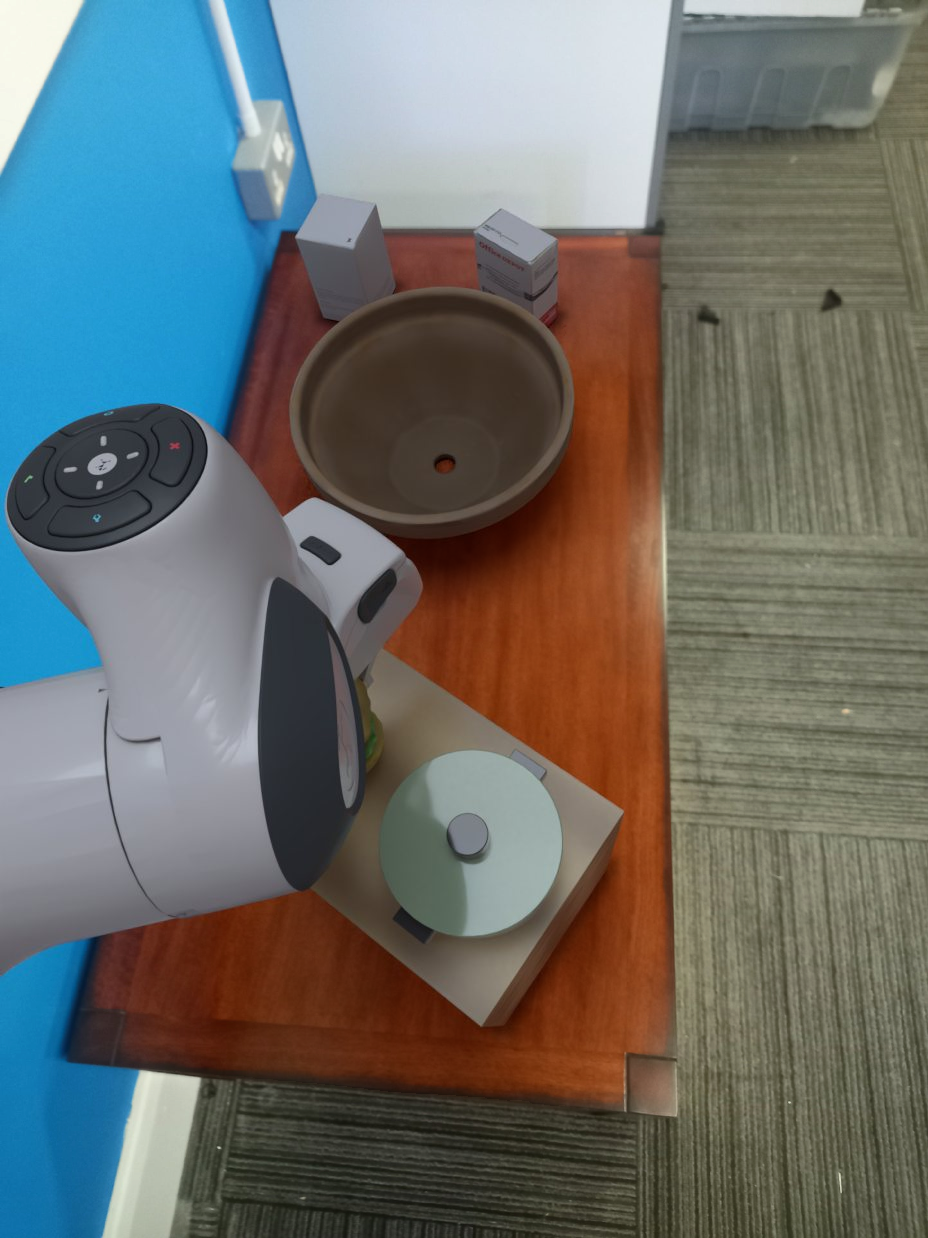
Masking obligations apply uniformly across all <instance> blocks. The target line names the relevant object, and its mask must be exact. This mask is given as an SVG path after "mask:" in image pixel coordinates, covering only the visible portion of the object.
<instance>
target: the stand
mask: <svg viewBox="0 0 928 1238" xmlns="http://www.w3.org/2000/svg"><path fill="white" fill-rule="evenodd" d="M370 674H371V676H372V678H373V679H374V682H373V683H372V685H371V686H370V687H369V688H368V689H367V693H368V697H369V698H370V701H371V707H370V708H371V711H372V712H374V713H375V714H376V715H377V718H378V719H379V720H380V721H381V723H382V726H383V733H384V741H383V742H384V746H383V750H382V753H381V755H380V757H379V759H378V761H377V763H376V764H375V765H374V766H373V768H372V769H371V770H370V771H369V772H368V773H366V785H365V792H364V798H363V802H362V805H361V807H360V810H359V812H358V814H357V816H356V818H355V821H354V823H353V825H352V827H351V829H350V831H349V833H348V835H347V837H346V839H345V841H344V843H343V845H342V847H341V848H340V850H339V852H338V854H337V855H336V857H335V858H334V860H333V862H332V863H331V864H330V866H329V867H328V868H327V870H326V871H325V872H324V873H323V875H322V876H321V877H320V878H319V879H318V880H317V881H316V882H315V883H314V884H313V885H312V886H311V887H310V888H309V889H310V890H312V891H313V892H314V893H315V894H316V895H318V896H319V897H320V898H321V899H322V900H324V901H325V902H326V903H328V904H329V905H330V906H331V907H333V908H334V910H336V911H338V912H339V913H340V914H341V915H342V916H344V917H345V918H346V919H347V920H349V922H351V923H352V924H353V925H354V926H356V927H357V928H358V929H360V930H361V932H363V933H365V934H366V935H367V936H368V937H369V938H370V939H372V940H373V941H374V942H375V943H377V944H378V945H379V946H380V947H382V948H383V949H384V950H386V952H388V953H389V954H390V955H391V956H393V957H394V958H395V959H396V960H398V961H399V962H400V963H401V964H402V965H404V966H405V967H406V968H408V970H410V971H411V972H413V973H414V974H415V975H416V976H417V977H418V978H420V979H421V980H422V981H423V982H424V983H426V984H427V985H428V986H430V987H431V988H432V989H433V990H435V991H436V992H437V993H438V994H440V995H441V996H442V997H443V998H444V999H446V1000H447V1001H448V1002H449V1003H451V1004H452V1006H454V1007H455V1008H457V1009H458V1010H459V1011H460V1012H461V1013H463V1014H464V1015H465V1016H467V1017H468V1018H469V1019H470V1020H471V1021H473V1022H474V1023H475V1024H476V1025H478V1026H479V1027H480V1028H485V1027H488V1028H489V1027H504V1026H505V1025H506V1024H507V1022H508V1021H509V1019H510V1017H511V1016H512V1015H513V1013H514V1011H515V1010H516V1008H517V1007H518V1005H519V1004H520V1002H521V1001H522V999H523V998H524V996H525V995H526V993H527V992H528V991H529V989H530V988H531V985H532V984H533V983H534V981H535V980H536V978H537V977H538V975H539V973H540V972H541V970H542V969H543V968H544V966H545V964H546V963H547V961H548V960H549V959H550V957H551V955H552V954H553V952H554V951H555V949H556V947H557V946H558V944H559V943H560V941H561V940H562V939H563V937H564V936H565V934H566V932H567V931H568V929H569V928H570V926H571V925H572V923H573V922H574V920H575V919H576V917H577V915H578V914H579V913H580V911H581V909H582V908H583V906H584V905H585V904H586V902H587V900H588V899H589V898H590V896H591V894H592V893H593V891H594V890H595V888H596V887H597V885H598V883H599V882H600V881H601V879H602V877H603V876H604V874H605V873H606V872H607V870H608V868H609V864H610V861H611V857H612V854H613V852H614V851H613V850H614V847H615V844H616V840H617V838H618V834H619V831H620V828H621V824H622V821H623V818H624V815H625V812H626V811H625V810H624V809H622V808H621V807H619V806H618V805H616V804H615V803H614V802H612V801H611V800H609V799H608V798H606V797H605V796H603V795H602V794H600V793H599V792H597V791H596V790H594V789H593V788H591V786H590V787H589V786H588V785H587V784H585V783H584V782H583V781H581V780H580V779H578V778H577V777H576V776H573V775H571V774H570V773H569V772H567V771H566V770H565V769H563V768H561V767H560V766H559V765H558V764H556V763H554V762H553V761H551V760H549V759H548V758H546V757H545V756H543V754H541V753H540V752H538V751H537V750H535V749H534V748H532V747H530V746H529V745H528V744H526V743H524V742H523V741H522V740H520V739H518V738H517V737H516V736H514V735H512V734H511V733H510V732H508V731H507V730H505V729H504V728H503V727H500V726H499V725H498V724H496V723H495V722H493V720H490V719H489V718H488V717H486V716H485V715H483V714H481V713H480V712H478V711H477V710H476V709H474V708H473V707H471V706H469V705H468V704H467V703H465V702H464V701H462V700H461V699H460V698H459V697H456V696H455V695H453V694H452V693H450V692H449V691H447V690H446V689H444V688H443V687H442V686H440V685H438V684H437V683H435V682H434V681H432V680H431V679H430V678H428V677H426V676H425V675H424V674H422V673H420V672H419V671H418V670H416V669H415V668H413V667H412V666H410V665H409V664H407V663H406V662H404V661H403V660H401V659H400V658H399V657H397V656H396V655H394V654H392V653H391V652H390V651H388V650H387V649H385V648H384V647H382V648H381V649H380V651H379V652H378V653H377V655H376V658H375V661H374V665H373V668H372V671H371V673H370ZM515 749H517V750H518V751H520V752H521V753H522V754H524V755H525V756H527V757H528V758H530V759H531V760H533V761H534V762H536V763H537V764H539V765H540V766H542V767H543V768H545V769H546V770H547V776H546V777H545V779H544V780H543V781H542V783H543V785H544V786H545V787H546V789H547V790H548V792H549V794H550V795H551V797H552V799H553V801H554V803H555V805H556V808H557V810H558V813H559V817H560V821H561V825H562V833H563V853H562V860H561V865H560V869H559V872H558V875H557V878H556V880H555V883H554V885H553V887H552V889H551V890H550V893H549V895H548V897H547V899H546V901H545V902H544V904H543V906H542V907H541V908H540V909H539V911H538V912H537V913H536V914H535V915H534V916H533V917H532V918H531V919H530V920H529V921H528V922H527V923H525V924H524V925H523V926H521V927H520V928H518V929H516V930H515V931H513V932H511V933H508V934H506V935H503V936H500V937H496V938H492V939H482V940H479V939H467V938H460V937H455V936H449V935H446V934H443V933H440V932H436V933H435V935H434V936H433V938H432V939H431V941H430V942H429V943H428V945H427V946H426V945H424V944H423V943H421V942H420V941H419V940H418V939H416V938H415V937H414V936H413V935H411V934H410V933H409V932H408V931H406V930H405V929H404V928H403V927H401V926H400V925H399V924H398V923H396V922H395V921H394V920H393V919H392V918H393V917H394V915H395V914H396V913H397V911H398V910H399V909H400V907H401V905H400V904H399V903H398V901H397V900H396V899H395V897H394V895H393V894H392V892H391V891H390V889H389V887H388V884H387V882H386V880H385V877H384V874H383V871H382V868H381V863H380V857H379V833H380V827H381V822H382V818H383V815H384V812H385V810H386V807H387V805H388V803H389V801H390V799H391V797H392V795H393V794H394V792H395V791H396V789H397V788H398V786H399V785H400V784H401V783H402V782H403V781H404V779H405V778H406V777H407V776H408V775H410V774H411V773H412V772H413V771H414V770H415V769H417V768H418V767H419V766H421V765H422V764H424V763H426V762H427V761H429V760H431V759H433V758H435V757H438V756H440V755H443V754H446V753H450V752H454V751H460V750H484V751H491V752H494V753H498V754H501V755H504V756H506V757H510V755H511V754H512V752H513V751H514V750H515Z"/></svg>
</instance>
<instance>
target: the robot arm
mask: <svg viewBox="0 0 928 1238" xmlns="http://www.w3.org/2000/svg"><path fill="white" fill-rule="evenodd" d="M4 516H5V522H6V524H7V528H8V530H9V532H10V534H11V536H12V538H13V540H14V542H15V544H16V546H17V547H18V549H19V550H20V552H21V554H22V555H23V557H24V558H25V559H26V561H27V562H28V563H29V565H30V566H31V567H32V569H33V570H34V572H35V573H36V574H37V575H38V577H39V578H40V579H41V580H42V582H43V583H44V584H45V586H46V587H47V588H48V589H49V590H50V591H51V592H52V594H53V595H54V596H55V597H56V598H57V599H58V601H59V602H61V603H62V605H63V606H64V607H65V608H66V609H67V610H68V611H69V613H71V614H72V616H74V617H75V618H76V619H77V620H78V621H79V623H80V624H81V625H83V626H84V627H85V629H87V631H88V632H89V634H90V636H91V639H92V640H93V643H94V645H95V648H96V650H97V653H98V656H99V659H100V662H101V665H98V666H93V667H88V668H84V669H80V670H79V669H78V670H76V671H75V670H74V671H71V672H67V673H61V674H57V675H53V676H48V677H45V678H40V679H36V680H31V681H27V682H22V683H17V684H13V685H9V686H0V978H1V977H3V976H5V974H6V973H8V972H9V971H10V970H12V969H14V968H15V967H17V966H18V965H20V964H22V963H24V962H25V961H27V960H29V959H30V958H32V957H34V956H36V955H37V954H40V953H41V952H44V951H47V950H49V949H52V948H55V947H58V946H62V945H65V944H70V943H74V942H78V941H83V940H87V939H92V938H96V937H100V936H105V935H109V934H114V933H118V932H119V933H120V932H122V931H128V930H131V929H136V928H140V927H144V926H149V925H155V924H158V923H162V922H167V921H171V920H176V919H180V920H185V919H189V918H193V917H199V916H203V915H206V914H207V915H208V914H212V913H216V912H220V911H224V910H228V909H233V908H238V907H242V906H247V905H250V904H254V903H259V902H262V901H268V900H271V899H275V898H279V897H283V896H286V895H290V894H293V893H297V892H306V891H309V890H310V889H311V888H310V887H311V886H312V885H313V884H314V883H315V882H316V881H317V880H318V879H319V878H320V877H321V876H322V875H323V873H324V872H325V871H326V870H327V868H328V867H329V866H330V864H331V863H332V862H333V860H334V858H335V857H336V855H337V854H338V852H339V850H340V848H341V847H342V845H343V843H344V841H345V839H346V837H347V835H348V833H349V831H350V829H351V827H352V825H353V823H354V821H355V818H356V816H357V814H358V812H359V810H360V807H361V805H362V802H363V798H364V792H365V785H366V752H365V739H364V730H363V723H362V716H361V711H360V705H359V701H358V696H357V692H356V688H355V684H354V681H355V680H356V679H357V678H358V677H359V679H360V680H361V681H362V682H363V683H364V685H365V686H366V689H368V688H369V687H370V686H371V685H372V683H373V682H374V679H373V678H372V676H371V674H370V673H371V671H372V668H373V665H374V661H375V658H376V655H377V653H378V652H379V651H380V649H381V648H384V645H386V643H387V642H388V641H389V640H390V638H392V636H393V635H394V634H395V632H397V630H398V628H399V627H400V626H401V625H402V624H403V622H404V621H405V620H406V619H407V618H408V617H409V615H410V614H411V613H412V612H413V610H414V609H415V608H416V606H417V605H418V603H419V601H420V598H421V596H422V593H423V590H424V583H423V580H422V577H421V574H420V572H419V570H418V568H417V567H416V565H415V563H414V562H413V561H412V560H411V559H409V558H408V557H407V556H406V553H405V552H404V550H402V549H401V548H400V547H399V546H397V544H395V543H394V542H393V541H391V539H389V538H388V537H386V536H385V534H383V533H381V532H378V531H377V530H375V529H374V528H372V527H371V526H369V525H368V524H366V523H365V522H363V521H362V520H360V519H358V518H356V517H355V516H353V515H351V514H349V513H348V512H346V511H344V510H342V509H340V508H338V507H336V506H334V505H332V504H330V503H328V502H327V501H326V500H324V499H320V498H318V497H311V498H308V499H306V500H305V501H303V502H302V503H300V504H299V505H297V506H296V507H294V508H293V509H292V510H290V511H289V512H287V513H286V514H285V515H284V516H283V515H282V514H281V512H280V510H279V509H278V507H277V505H276V504H275V502H274V501H273V499H272V498H271V496H270V495H269V493H268V492H267V490H266V489H265V487H264V485H263V484H262V482H261V481H260V480H259V479H258V477H257V475H256V474H255V473H254V471H253V470H252V468H251V467H250V466H249V465H248V464H247V463H246V461H245V460H244V459H243V457H242V456H241V455H240V453H238V451H237V450H236V449H235V448H234V447H233V446H232V445H231V443H229V442H228V440H227V439H226V438H225V437H224V436H223V435H222V434H221V433H219V431H218V430H217V429H216V428H214V427H213V426H212V425H211V424H210V423H209V422H207V421H206V420H204V419H203V418H201V417H200V416H198V415H196V414H194V413H193V412H191V411H189V410H186V409H185V408H181V407H178V406H175V405H172V404H167V403H159V402H150V403H149V402H148V403H141V404H140V403H139V404H138V403H137V404H132V405H125V406H120V407H115V408H112V409H108V410H103V411H100V412H97V413H93V414H89V415H86V416H84V417H81V418H79V419H77V420H74V421H72V422H70V423H68V424H66V425H64V426H62V427H61V428H60V429H58V430H56V431H55V432H53V433H52V434H50V435H49V436H48V437H45V439H44V440H42V441H41V442H40V443H39V444H38V445H37V446H35V448H34V449H32V451H31V452H29V454H28V455H27V456H26V457H25V459H23V460H22V462H21V464H20V465H19V466H18V467H17V469H16V471H15V473H14V474H13V476H12V478H11V480H10V482H9V484H8V487H7V490H6V493H5V500H4Z"/></svg>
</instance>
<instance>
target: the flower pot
mask: <svg viewBox="0 0 928 1238" xmlns="http://www.w3.org/2000/svg"><path fill="white" fill-rule="evenodd" d="M574 387H575V386H574V380H573V374H572V370H571V366H570V363H569V361H568V359H567V356H566V354H565V351H564V349H563V347H562V345H561V343H560V342H559V341H558V339H557V338H556V336H555V335H554V334H553V333H552V331H551V330H550V329H549V328H548V327H546V326H545V325H544V324H543V323H542V322H541V321H540V320H539V319H538V318H536V317H535V316H534V315H532V314H531V313H530V312H528V311H527V310H525V309H524V308H522V307H521V306H519V305H517V304H515V303H513V302H511V301H509V300H507V299H505V298H502V297H500V296H496V295H493V294H490V293H487V292H483V291H480V290H479V289H473V288H468V287H461V286H430V287H422V288H421V287H420V288H415V289H409V290H405V291H401V292H397V293H393V294H392V295H390V296H387V297H384V298H381V299H379V300H376V301H374V302H372V303H370V304H367V305H365V306H364V307H362V308H360V309H358V310H356V311H355V312H353V313H351V314H350V315H348V316H347V317H345V318H344V319H343V320H341V321H338V322H337V323H336V324H335V325H333V327H331V328H330V329H329V330H328V331H327V332H326V333H325V334H324V335H323V336H322V337H321V338H320V339H319V341H318V342H316V344H315V345H314V346H313V348H312V349H311V350H310V352H309V353H308V355H307V357H306V359H305V360H304V362H303V363H302V365H301V367H300V369H299V371H298V373H297V376H296V378H295V381H294V383H293V387H292V389H291V393H290V397H289V404H288V405H289V407H288V408H289V409H288V411H289V416H288V417H289V427H290V435H291V438H292V442H293V446H294V449H295V452H296V454H297V456H298V457H297V458H298V459H299V462H300V464H301V466H302V468H303V470H304V471H305V473H306V475H307V476H308V478H309V480H310V481H311V483H312V485H313V486H314V488H315V489H316V490H317V492H318V493H319V494H320V496H321V497H322V498H323V499H324V501H325V502H328V503H330V504H332V505H334V506H336V507H338V508H340V509H342V510H344V511H346V512H348V513H349V514H351V515H353V516H355V517H356V518H358V519H360V520H362V521H363V522H365V523H366V524H368V525H369V526H371V527H372V528H374V529H375V530H377V531H378V532H379V533H381V534H384V535H389V536H394V537H398V538H399V537H400V538H406V539H417V540H433V539H434V540H435V539H445V538H453V537H458V536H462V535H466V534H470V533H473V532H476V531H479V530H482V529H484V528H487V527H489V526H493V525H494V524H496V523H499V522H501V521H503V520H504V519H506V518H508V517H511V515H512V514H514V513H516V512H518V511H519V510H520V509H521V508H523V507H524V506H525V505H526V504H528V503H529V502H530V501H531V500H533V499H534V498H535V497H536V496H537V495H538V494H539V493H540V492H541V491H542V489H544V488H545V486H546V485H547V484H548V483H549V482H550V480H551V479H552V478H553V476H554V475H555V474H556V472H557V470H558V468H559V467H560V465H561V463H562V461H563V459H564V457H565V455H566V452H567V450H568V448H569V444H570V440H571V438H572V437H571V436H572V433H573V424H574V415H575V389H574ZM445 458H447V459H451V460H452V461H453V462H454V463H455V465H454V466H453V469H451V470H450V471H447V472H440V471H438V470H437V469H436V464H437V463H438V461H440V460H442V459H445Z"/></svg>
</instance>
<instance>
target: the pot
mask: <svg viewBox="0 0 928 1238" xmlns="http://www.w3.org/2000/svg"><path fill="white" fill-rule="evenodd" d="M546 776H547V770H546V769H545V768H543V767H542V766H540V765H539V764H537V763H536V762H534V761H533V760H531V759H530V758H528V757H527V756H525V755H524V754H522V753H521V752H520V751H518V750H517V749H515V750H514V751H513V752H512V754H511V755H510V757H506V756H504V755H501V754H498V753H494V752H491V751H484V750H460V751H454V752H450V753H446V754H443V755H440V756H438V757H435V758H433V759H431V760H429V761H427V762H426V763H424V764H422V765H421V766H419V767H418V768H417V769H415V770H414V771H413V772H412V773H411V774H410V775H408V776H407V777H406V778H405V779H404V781H403V782H402V783H401V784H400V785H399V786H398V788H397V789H396V791H395V792H394V794H393V795H392V797H391V799H390V801H389V803H388V805H387V807H386V810H385V812H384V815H383V818H382V822H381V827H380V833H379V857H380V863H381V868H382V871H383V874H384V877H385V880H386V882H387V884H388V887H389V889H390V891H391V892H392V894H393V895H394V897H395V899H396V900H397V901H398V903H399V904H400V905H401V907H400V909H399V910H398V911H397V913H396V914H395V915H394V917H393V918H392V919H393V920H394V921H395V922H396V923H398V924H399V925H400V926H401V927H403V928H404V929H405V930H406V931H408V932H409V933H410V934H411V935H413V936H414V937H415V938H416V939H418V940H419V941H420V942H421V943H423V944H424V945H426V946H427V945H428V943H429V942H430V941H431V939H432V938H433V936H434V935H435V933H436V932H440V933H443V934H446V935H449V936H455V937H460V938H467V939H479V940H482V939H492V938H496V937H500V936H503V935H506V934H508V933H511V932H513V931H515V930H516V929H518V928H520V927H521V926H523V925H524V924H525V923H527V922H528V921H529V920H530V919H531V918H532V917H533V916H534V915H535V914H536V913H537V912H538V911H539V909H540V908H541V907H542V906H543V904H544V902H545V901H546V899H547V897H548V895H549V893H550V890H551V889H552V887H553V885H554V883H555V880H556V878H557V875H558V872H559V869H560V865H561V860H562V853H563V833H562V825H561V821H560V817H559V813H558V810H557V808H556V805H555V803H554V801H553V799H552V797H551V795H550V794H549V792H548V790H547V789H546V787H545V786H544V785H543V783H542V781H543V780H544V779H545V777H546Z"/></svg>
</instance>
